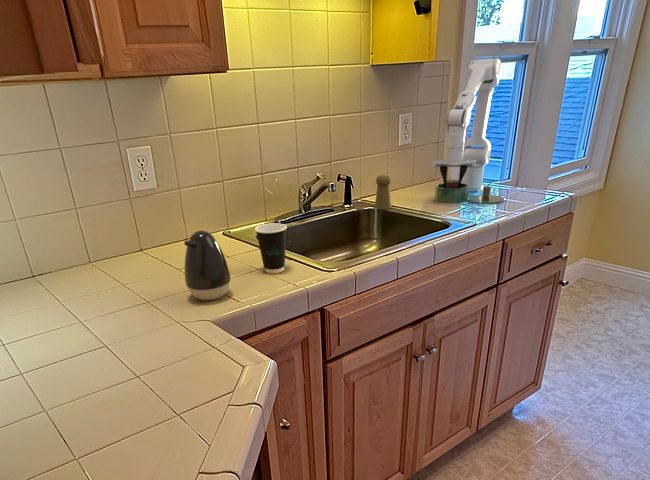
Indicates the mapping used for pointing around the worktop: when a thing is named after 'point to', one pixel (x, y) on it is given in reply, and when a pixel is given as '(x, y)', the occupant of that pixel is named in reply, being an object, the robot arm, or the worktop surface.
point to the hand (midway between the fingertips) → (451, 188)
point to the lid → (486, 197)
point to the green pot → (451, 194)
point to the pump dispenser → (205, 267)
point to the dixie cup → (272, 246)
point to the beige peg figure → (383, 192)
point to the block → (452, 184)
